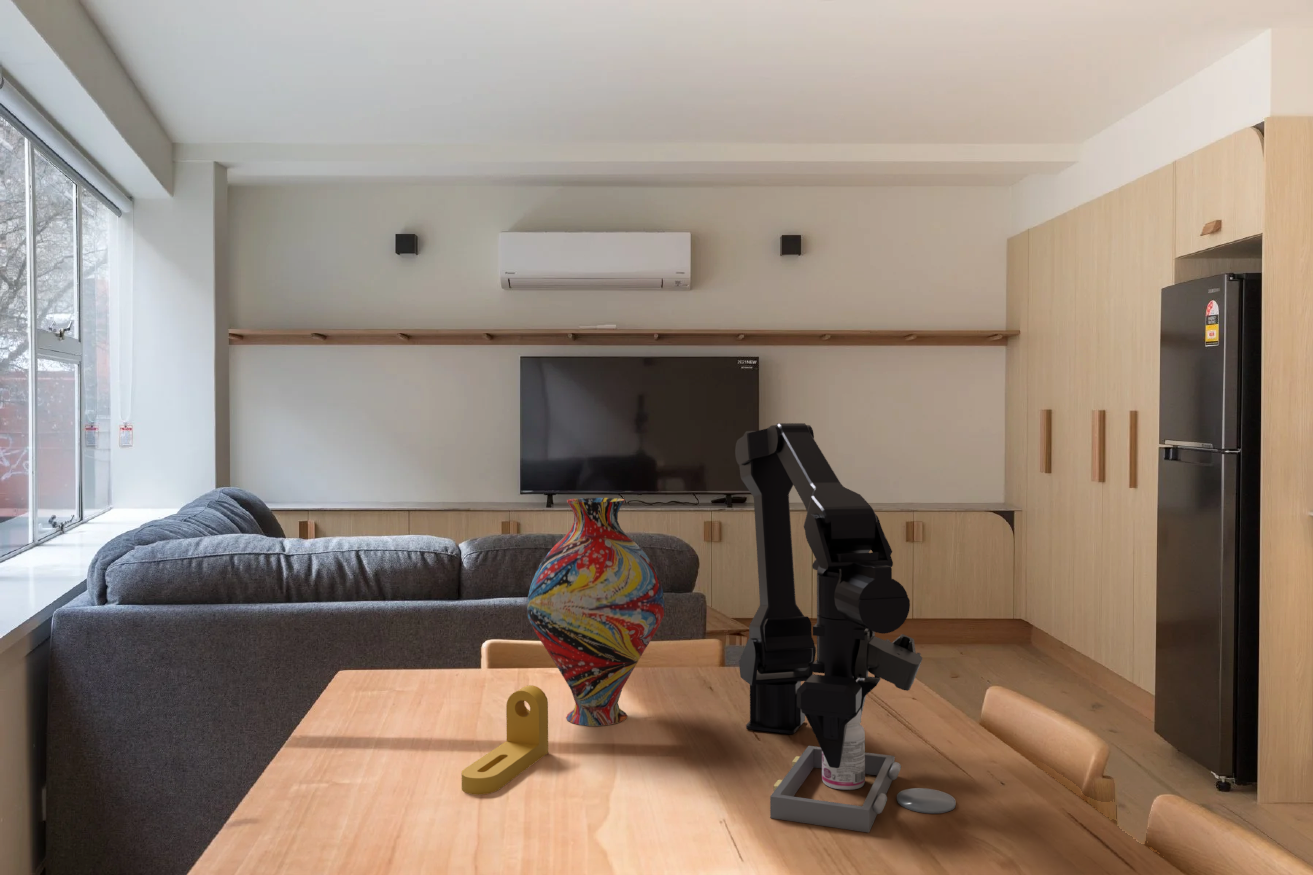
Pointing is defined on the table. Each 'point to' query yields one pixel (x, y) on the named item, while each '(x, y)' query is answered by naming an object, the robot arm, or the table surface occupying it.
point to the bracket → (512, 744)
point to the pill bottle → (848, 760)
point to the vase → (596, 608)
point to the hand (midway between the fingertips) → (842, 753)
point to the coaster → (926, 800)
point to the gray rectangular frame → (831, 812)
